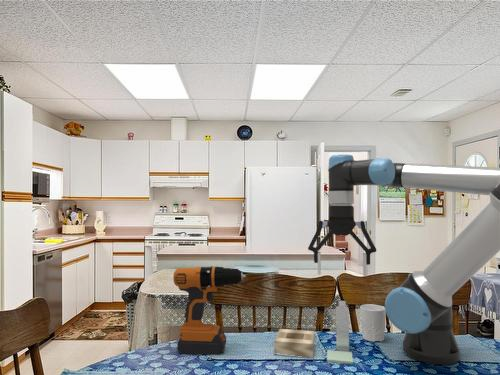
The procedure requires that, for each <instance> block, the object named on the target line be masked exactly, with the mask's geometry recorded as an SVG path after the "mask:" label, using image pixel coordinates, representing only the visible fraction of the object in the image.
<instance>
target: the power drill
mask: <svg viewBox="0 0 500 375" xmlns="http://www.w3.org/2000/svg"><path fill="white" fill-rule="evenodd" d="M246 277H247V276H246V275H245V274H243V271H241V270H240V269H239V268H230V267H225V268H224V266H214V265H213V266H211V265H210V266H197V267H180V268H176V269H175V271H174V273H173V284H174V286H176V287H178V290H179V291H183V292H186V293H187V294H188V299H187V301H186V305H185V306H186V307H185V312H184V316H185V317H184V318H185V320H184V321H185V322H184V323H183V324H182V325H181V327H180V329H179V333H180V334H179V340H178V341H177V351H178V352H179V353H180V354H186V355H187V354H190V355H211V354H218V355H219V354H222V353H223V352H224V351H225V347H226V344H227V336H226V334H225V332H224V331H223V329H222V328H221V326H220V325H219V324H218V325H217V324H213V323H203V322H202V319H203V316H204V312H205V303H209V302H210V301H212V302H213V301H214V297H213V294H215V293H216V292H217V291H218V287H224V286H230V285H238V284H240V283H242V281H243V280H244V278H246Z"/></svg>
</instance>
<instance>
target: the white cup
mask: <svg viewBox="0 0 500 375" xmlns="http://www.w3.org/2000/svg"><path fill="white" fill-rule="evenodd" d="M359 307H360V321H361V324H360V325H361V332H362V339H364V340H366V341H367V342H373V343H374V342H375V341H380V342H382V341H381V340H383V339H384V340H385V331H386V317H387V314H386V310H385V306H383V305H380V304H379V305H378V304H371V303H370V304H362V305H360V306H359ZM384 340H383V341H384ZM375 343H376V342H375Z"/></svg>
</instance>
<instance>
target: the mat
mask: <svg viewBox="0 0 500 375" xmlns="http://www.w3.org/2000/svg"><path fill="white" fill-rule="evenodd" d="M326 362H327V363H336V364H348V365H354V359H353V352H352V351H341V350H332V349H327V352H326Z"/></svg>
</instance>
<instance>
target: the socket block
mask: <svg viewBox="0 0 500 375" xmlns="http://www.w3.org/2000/svg"><path fill="white" fill-rule="evenodd" d="M315 336H316V335H315V331H314V330H303V329H288V328H279V329H278V332H277V333H276V336H275V338H274V341H273V342H274V344H273V345H274V346H273V347H274V348H273V350H274V352H273V353H280V354H287V355H295V356H302V357H301V358H303V357H309V358H308V359H313V358H314V352H313V351H315V345H314V343H315V340H316V339H315ZM315 344H316V343H315Z"/></svg>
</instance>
